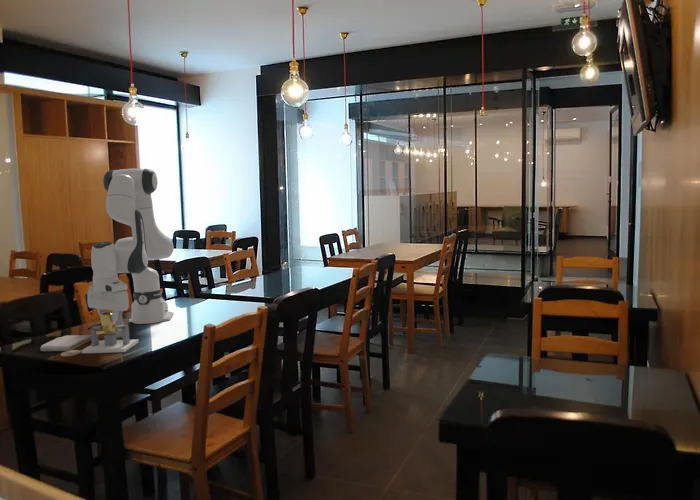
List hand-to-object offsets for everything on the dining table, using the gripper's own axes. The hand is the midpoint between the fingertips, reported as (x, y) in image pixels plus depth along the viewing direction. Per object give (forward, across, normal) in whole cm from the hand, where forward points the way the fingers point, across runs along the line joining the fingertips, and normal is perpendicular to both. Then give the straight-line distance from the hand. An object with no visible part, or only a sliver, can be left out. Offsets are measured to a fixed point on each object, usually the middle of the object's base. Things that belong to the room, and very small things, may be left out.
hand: (109, 320), depth 224 cm
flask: (+11, -12, +14) cm, 21 cm away
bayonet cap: (+4, 0, 0) cm, 4 cm away
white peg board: (+10, 0, 0) cm, 10 cm away
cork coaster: (+10, -7, -12) cm, 17 cm away
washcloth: (+11, -20, -5) cm, 24 cm away
